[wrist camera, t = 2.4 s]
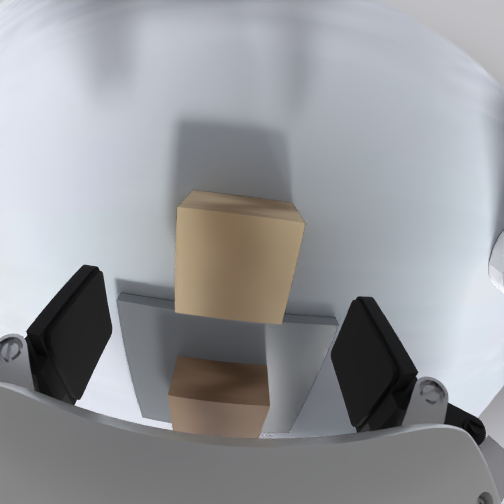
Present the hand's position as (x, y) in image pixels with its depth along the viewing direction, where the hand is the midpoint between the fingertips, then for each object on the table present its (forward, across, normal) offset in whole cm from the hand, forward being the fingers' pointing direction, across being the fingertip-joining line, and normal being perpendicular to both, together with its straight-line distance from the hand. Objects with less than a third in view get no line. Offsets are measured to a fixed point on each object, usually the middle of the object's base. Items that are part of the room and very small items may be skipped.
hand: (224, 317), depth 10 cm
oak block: (+8, 0, +1) cm, 8 cm away
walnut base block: (+7, 0, +14) cm, 15 cm away
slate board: (+8, 0, +14) cm, 16 cm away
